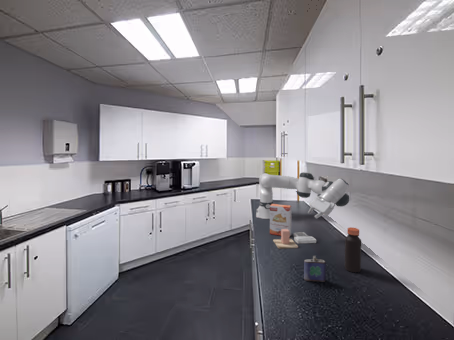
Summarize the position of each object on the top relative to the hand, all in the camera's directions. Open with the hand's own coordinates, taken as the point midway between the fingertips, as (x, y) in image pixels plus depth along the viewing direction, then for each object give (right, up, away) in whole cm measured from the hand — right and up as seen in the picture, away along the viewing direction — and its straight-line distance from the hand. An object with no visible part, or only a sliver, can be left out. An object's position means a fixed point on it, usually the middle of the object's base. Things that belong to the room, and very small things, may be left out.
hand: (311, 215), depth 138 cm
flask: (-14, -21, -40) cm, 47 cm away
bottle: (+7, -20, -32) cm, 38 cm away
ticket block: (-17, -17, -1) cm, 24 cm away
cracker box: (-16, -17, +16) cm, 28 cm away
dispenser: (-4, -17, +7) cm, 19 cm away
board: (-17, -18, -1) cm, 25 cm away
